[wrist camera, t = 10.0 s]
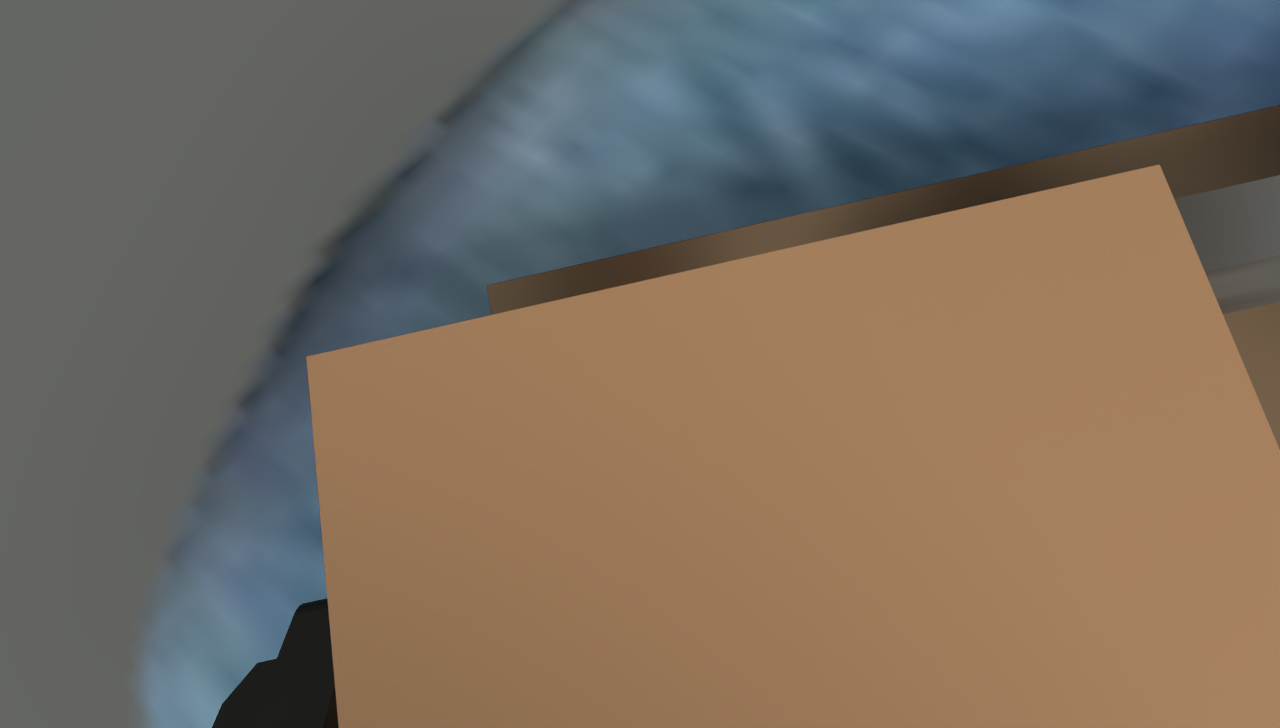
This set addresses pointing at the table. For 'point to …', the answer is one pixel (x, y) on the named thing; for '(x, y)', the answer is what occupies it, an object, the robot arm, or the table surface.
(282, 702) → the robot arm
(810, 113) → the table surface
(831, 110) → the table surface
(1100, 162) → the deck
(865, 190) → the table surface
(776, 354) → the block
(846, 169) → the table surface
